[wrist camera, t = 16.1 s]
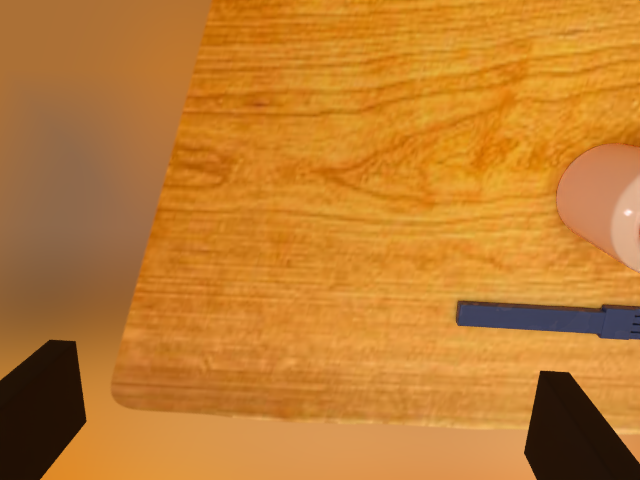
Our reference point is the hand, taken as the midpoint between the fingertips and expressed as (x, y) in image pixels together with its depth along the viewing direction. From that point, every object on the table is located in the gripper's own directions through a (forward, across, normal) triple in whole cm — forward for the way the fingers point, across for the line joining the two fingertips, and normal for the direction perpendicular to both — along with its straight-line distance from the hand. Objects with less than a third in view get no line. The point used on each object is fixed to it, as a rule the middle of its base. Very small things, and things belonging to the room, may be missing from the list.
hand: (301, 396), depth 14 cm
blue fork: (+27, +22, -10) cm, 36 cm away
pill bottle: (+27, +22, +1) cm, 34 cm away
